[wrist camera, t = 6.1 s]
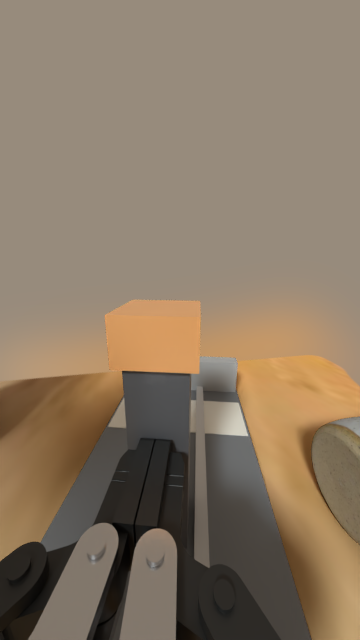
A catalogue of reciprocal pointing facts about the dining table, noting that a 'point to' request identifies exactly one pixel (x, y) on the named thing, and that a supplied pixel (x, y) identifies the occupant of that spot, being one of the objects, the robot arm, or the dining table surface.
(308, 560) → the dining table surface
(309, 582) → the dining table surface
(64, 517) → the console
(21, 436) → the dining table surface
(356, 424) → the ceramic mug
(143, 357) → the fader
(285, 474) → the dining table surface
